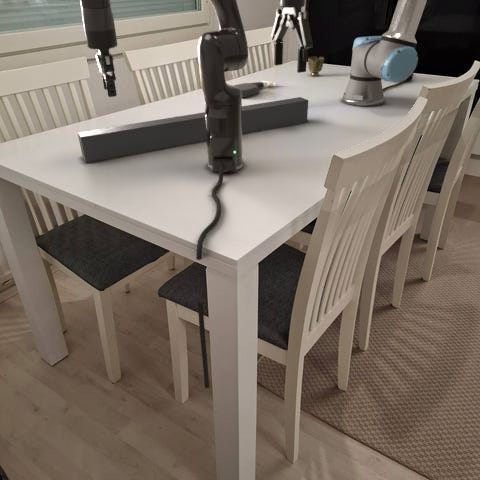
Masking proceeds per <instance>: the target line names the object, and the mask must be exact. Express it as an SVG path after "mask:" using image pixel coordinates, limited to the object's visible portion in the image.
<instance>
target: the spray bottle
mask: <svg viewBox="0 0 480 480" xmlns="http://www.w3.org/2000/svg"><path fill="white" fill-rule="evenodd" d="M233 86H236V87H238V88H239V89H240V90H241V95H242V99H244V98H249V97H251V96H254V95H257V94H258V93H259V92H260V89H261V88H262V89H263V88H264V87H270V86H271V87H272V86H277V82H274V81H269V80H261V81H256V82H243V83H238V84H235V85H234V84H233Z"/></svg>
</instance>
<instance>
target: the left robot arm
mask: <svg viewBox="0 0 480 480" xmlns="http://www.w3.org/2000/svg"><path fill="white" fill-rule="evenodd" d="M79 1H80V6H81V7H80V8H81V17H82V23H83V29H84V34H85V40H86V46H87V48H88V49H90V50H95V52H96V54H95V60H96V62H97V67H98V70H99V74H100V75H101V79H102V87H103V89H104V91H105V90H106V92H107V97H108V98H114V97H117V95H118V94H117V88H116V81H117V77H116V68H115V64H114V56H113V55H112V53H110V49H116V48H117V47H118V38H117V33H116V31H117V30H116V26H115V18H114V14H113V10H112V6H111V5H112V4H111V0H79ZM208 1H209V3H210V5H211V6H212V9H213V10H214V13H215V16H216V18H217V22H218V26H219V29H217V30H211V31H206V32H203V33H202V34H201V35H200V37H199V39H198V42H197V60H198V67H199V68H198V69H199V77H200V79H199V80H200V86H201V90H202V94H203V99H204V100H203V101H204V112H205V118H206V136H207V141H206V151H207V152H206V153H207V168H208V169H209V170H211V172H212V173H218V181H217V183H216V184H215V185H214V187H213V188H212V190H211V197H212V199H213V201H214V202H215V205H216V209H215V215H214V218H213V220H212V221H211V222H210V223H209V224H208V226H206V227H205V228H204V229H203V231H202V232H201V233H200V235H199V237H198V240H197V242H196V243H197V244H196V255H195V256H196V260H197V261H201V260H202V258H203V243H204V240H205V238H206V236H207V235H208V234H209V233H210V232H211V231H212V229H214V228H215V227H216V225H217V224H218V222H219V220H220V218H221V214H222V204H221V201H220V199H219V197H218V195H217V192H218V190H219V189H220V187H221V186H222V185H223V180H224V173H237V171H239V170H240V169H242V168H243V166H244V159H243V134H242V106H243V104H242V103H243V102H242V101H243V100H242V99H243V98H242V95H241V90H240V89H239V88H238V87H236V86H234V85H230V84H228V83H227V82H226V75H225V73H229V72H235V71H240V70H242V69H244V68H245V66H246V65H247V63H248V59H249V46H248V41H247V36H246V32H245V28H244V25H243V21H242V20H243V19H242V17H241V16H242V15H241V14H240V9H239V6H238V5H239V4H238V2H237V0H208ZM197 312H198V314H197V315H198V325H199V338H200V350H201V358H202V369H203V382H204V383H203V384H204V388H206V389H209V388H210V377H209V376H210V375H209V364H208V352H207V341H206V328H205V316H204V315H205V314H204V313H205V312H204V302H200V301H199V300H197Z"/></svg>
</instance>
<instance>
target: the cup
mask: <svg viewBox="0 0 480 480" xmlns="http://www.w3.org/2000/svg"><path fill="white" fill-rule="evenodd" d="M324 61H325V57H324V56H319V57H318V56H309V57H308V56H307V67H308V70H309V72H310V76H312V77H318V76H319V75H320V72H321V71H322V69H323V66H324Z"/></svg>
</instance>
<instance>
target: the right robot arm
mask: <svg viewBox="0 0 480 480" xmlns="http://www.w3.org/2000/svg"><path fill="white" fill-rule="evenodd" d="M427 1H428V0H397V4H396V7H395V9H394V13H393V16H392V19H391V21H390V25H389V28H388V30H387V31H386V32H384V33H383V34H382V35H372V36H358V37H356V38H354V41H353V45H352V52H351V53H352V55H351V64H350V73H349V74H350V75H349V80H348V83H347V85H346V87H345V90H344V92H343V95H342V102H343V103H345V104H347V105H350V106H357V107H376V106H379V105H382V104H383V103H384V100H385V94H384V91H386V90H388V89H391V88H394V87H397V86H400V85H403V84H405V83H406V82H408V81H410V80H409V79H408V77H409V76H410V75H412V77H413V76H414V75H415V73H414V71H415V70H416V68H417V65H418V61H419V57H418V52H417V51H416V47H417V44H418V42H417V40H416V36H415V35H416V33H417V31H418V27H419V24H420V21H421V18H422V16H423V12H424V10H425V8H426V4H427ZM278 3H279V4H278V5H279V7H280V8H277V9H276V12H275V19H274V21H273V22H274V23H273V26H272V30H271V34H270V40H271V41H272V42H273V43H274V46H273V49H274V51H273V52H274V56H273V57H274V60H273V65H274V66H281V65H283V63H284V62H283V60H284V59H283V58H284V56H283V55H284V40H283V39H284V37H285V35H286V34H287V31H288V30H289V28H291V30H293V32H294V34H295V38H296V40H297V43H298V49H297V51H298V52H297V68H296V73H298V74H300V73H306V72H307V64H308V55H309V54H308V51H309V50H310V48H313V47H314V42H313V37H312V33H311V32H312V31H311V28H310V27H311V26H310V21H309V11H302V8H304V7H305V5H306V0H279V1H278ZM382 80H383V81H384V82H389V83H395V84H391V85H388V86H385V87H383V83H382Z"/></svg>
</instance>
